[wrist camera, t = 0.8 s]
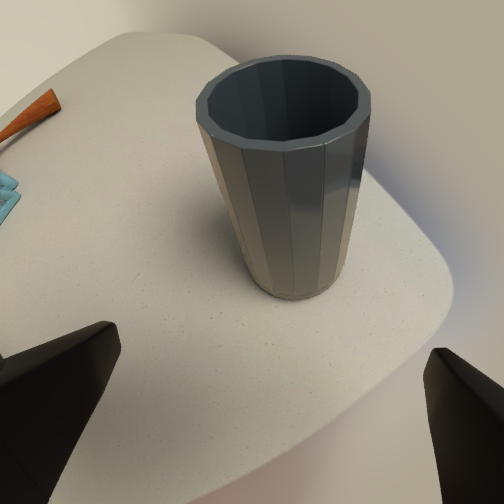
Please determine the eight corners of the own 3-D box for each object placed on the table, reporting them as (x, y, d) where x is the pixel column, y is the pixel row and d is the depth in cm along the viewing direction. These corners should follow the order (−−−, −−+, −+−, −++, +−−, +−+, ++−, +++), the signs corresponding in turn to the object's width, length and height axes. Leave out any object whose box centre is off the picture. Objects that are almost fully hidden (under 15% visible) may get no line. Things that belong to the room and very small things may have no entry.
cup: (310, 319, 20) (315, 180, 9) (227, 267, 23) (160, 118, 12) (361, 241, 22) (394, 81, 11) (282, 200, 25) (262, 45, 14)
